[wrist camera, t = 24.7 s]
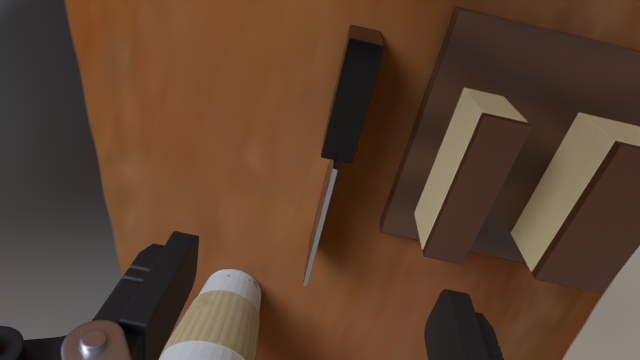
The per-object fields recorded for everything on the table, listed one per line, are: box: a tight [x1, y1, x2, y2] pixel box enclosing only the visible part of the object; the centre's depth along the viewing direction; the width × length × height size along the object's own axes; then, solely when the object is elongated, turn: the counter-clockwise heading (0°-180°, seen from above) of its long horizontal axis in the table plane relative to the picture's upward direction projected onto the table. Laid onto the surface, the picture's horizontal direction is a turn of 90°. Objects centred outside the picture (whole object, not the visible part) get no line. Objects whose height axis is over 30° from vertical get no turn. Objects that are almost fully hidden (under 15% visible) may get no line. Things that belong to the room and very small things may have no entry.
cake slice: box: [414, 88, 532, 265], centre depth 32 cm, size 12×3×6 cm, turn 168°
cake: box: [511, 113, 640, 293], centre depth 32 cm, size 12×6×6 cm, turn 168°
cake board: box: [380, 7, 640, 264], centre depth 35 cm, size 20×18×2 cm
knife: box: [303, 25, 385, 286], centre depth 34 cm, size 21×2×6 cm, turn 168°
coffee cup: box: [159, 269, 261, 360], centre depth 40 cm, size 10×10×15 cm
